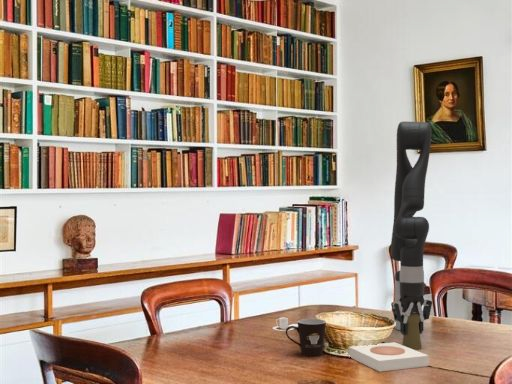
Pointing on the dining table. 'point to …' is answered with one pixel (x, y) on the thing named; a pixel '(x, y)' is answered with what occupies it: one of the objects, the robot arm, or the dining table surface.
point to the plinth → (388, 356)
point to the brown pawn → (412, 332)
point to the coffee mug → (310, 336)
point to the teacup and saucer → (284, 324)
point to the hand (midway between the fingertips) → (411, 333)
